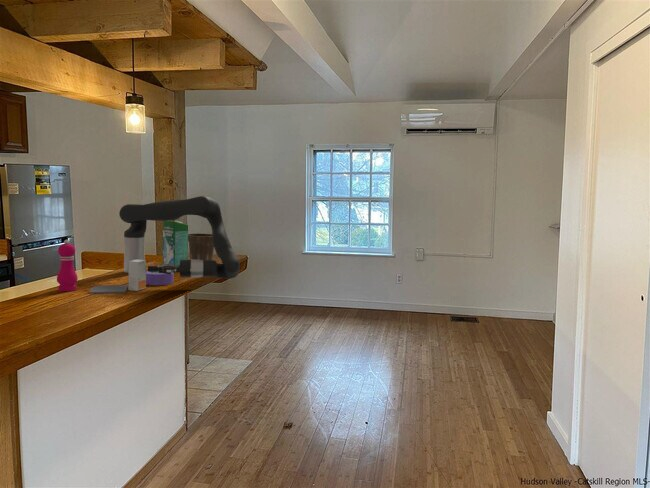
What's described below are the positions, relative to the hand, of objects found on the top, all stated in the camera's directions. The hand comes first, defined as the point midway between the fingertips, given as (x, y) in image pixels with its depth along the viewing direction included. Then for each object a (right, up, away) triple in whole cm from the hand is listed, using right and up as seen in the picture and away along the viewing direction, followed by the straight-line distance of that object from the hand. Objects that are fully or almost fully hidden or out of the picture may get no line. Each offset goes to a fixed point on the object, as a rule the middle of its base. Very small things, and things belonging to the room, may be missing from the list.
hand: (147, 268), depth 192 cm
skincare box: (-4, -9, 0) cm, 10 cm away
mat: (-14, -8, -3) cm, 17 cm away
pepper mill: (-29, -8, -6) cm, 31 cm away
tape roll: (-1, -7, +15) cm, 17 cm away
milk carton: (-6, -3, +55) cm, 56 cm away
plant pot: (+2, -1, +75) cm, 75 cm away
